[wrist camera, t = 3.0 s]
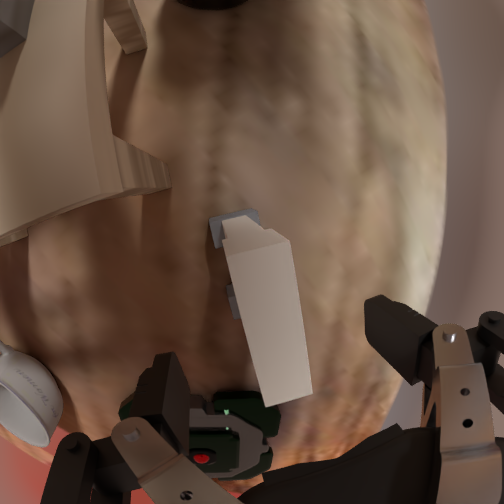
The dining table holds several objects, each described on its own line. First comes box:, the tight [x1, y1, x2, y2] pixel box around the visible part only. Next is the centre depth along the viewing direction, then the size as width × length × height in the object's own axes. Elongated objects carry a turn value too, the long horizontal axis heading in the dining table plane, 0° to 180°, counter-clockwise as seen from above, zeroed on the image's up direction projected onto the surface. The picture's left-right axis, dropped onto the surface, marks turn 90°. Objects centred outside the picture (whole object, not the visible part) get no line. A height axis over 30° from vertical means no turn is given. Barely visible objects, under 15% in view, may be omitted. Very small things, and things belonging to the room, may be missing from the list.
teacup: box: [0, 340, 63, 447], centre depth 19 cm, size 14×11×8 cm
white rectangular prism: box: [209, 208, 313, 407], centre depth 17 cm, size 8×4×13 cm, turn 12°
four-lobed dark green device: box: [118, 391, 281, 481], centre depth 26 cm, size 18×18×5 cm
